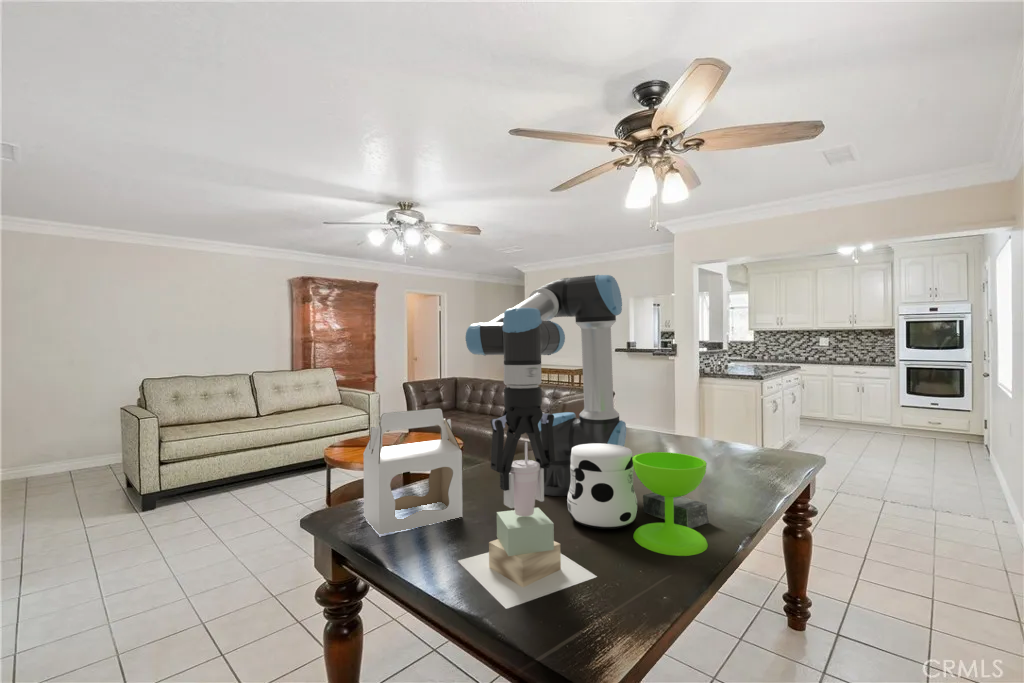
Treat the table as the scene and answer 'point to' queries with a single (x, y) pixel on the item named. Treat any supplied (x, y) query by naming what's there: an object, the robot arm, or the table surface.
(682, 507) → the stone block
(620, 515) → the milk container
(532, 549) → the sage block
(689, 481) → the wineglass
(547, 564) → the beech tray
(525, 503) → the smoothie
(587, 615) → the table surface
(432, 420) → the gable box
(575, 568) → the felt mat
